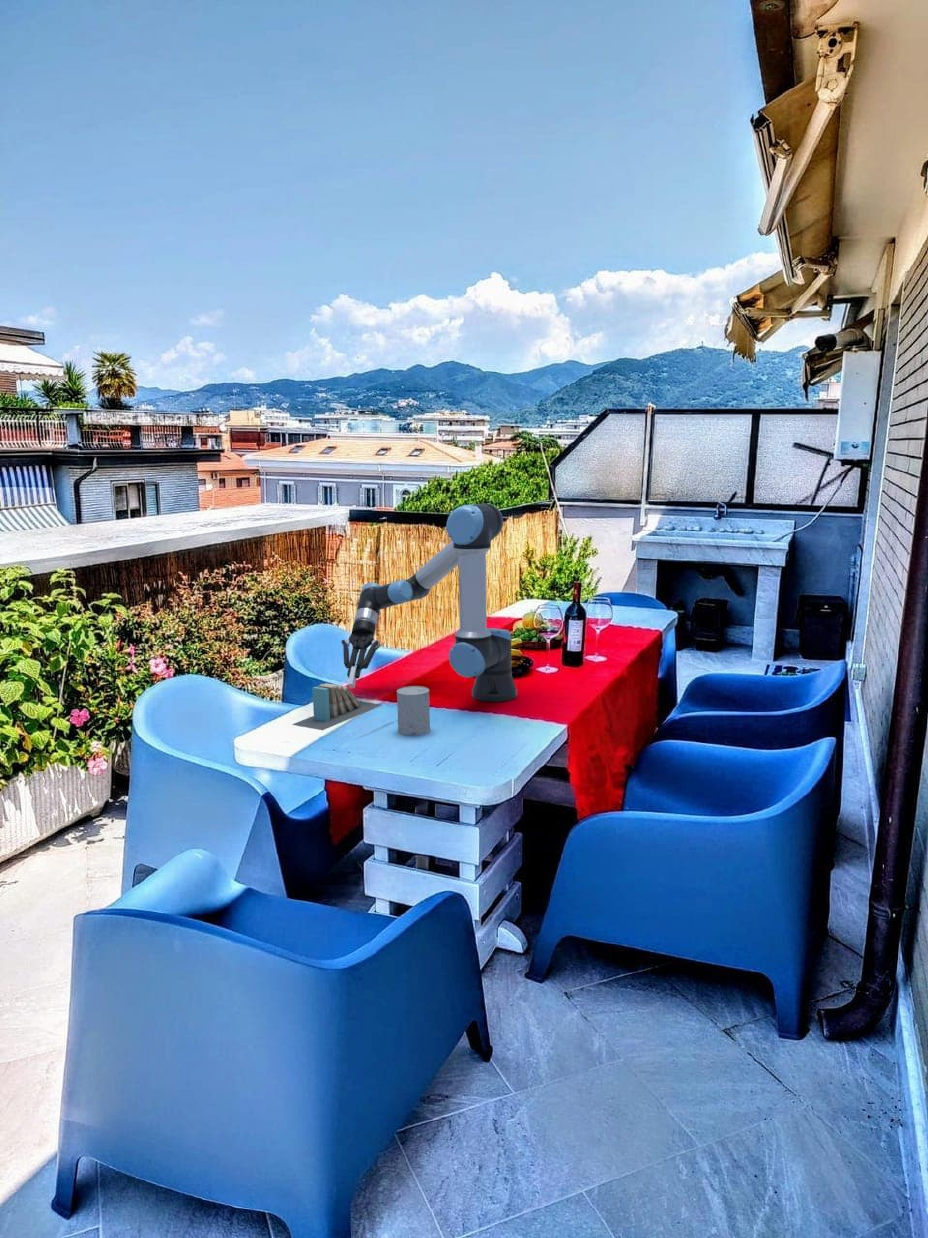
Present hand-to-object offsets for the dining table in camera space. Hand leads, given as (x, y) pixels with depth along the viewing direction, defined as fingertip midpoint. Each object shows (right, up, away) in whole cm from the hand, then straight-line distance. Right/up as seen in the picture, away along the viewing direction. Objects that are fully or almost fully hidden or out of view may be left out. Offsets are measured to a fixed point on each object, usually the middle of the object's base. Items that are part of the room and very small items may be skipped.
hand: (350, 686), depth 272 cm
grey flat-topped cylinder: (+21, -12, -20) cm, 31 cm away
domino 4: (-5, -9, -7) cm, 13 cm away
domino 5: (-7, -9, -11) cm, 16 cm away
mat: (-3, -9, -5) cm, 11 cm away
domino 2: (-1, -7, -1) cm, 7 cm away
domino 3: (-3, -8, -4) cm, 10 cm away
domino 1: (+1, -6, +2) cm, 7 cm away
